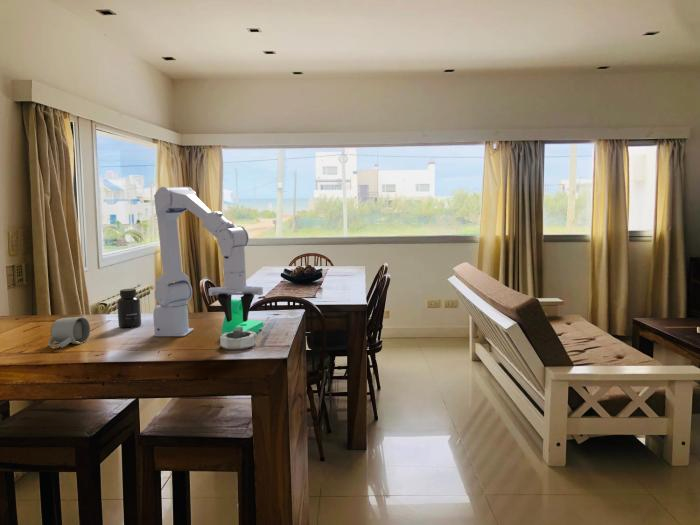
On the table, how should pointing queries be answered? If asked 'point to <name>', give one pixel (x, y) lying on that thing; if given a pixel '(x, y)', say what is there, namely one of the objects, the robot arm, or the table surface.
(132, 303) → the supplement bottle
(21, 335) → the table surface
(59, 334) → the ceramic mug
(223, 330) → the camera mount
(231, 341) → the white ring bowl
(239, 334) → the cap
